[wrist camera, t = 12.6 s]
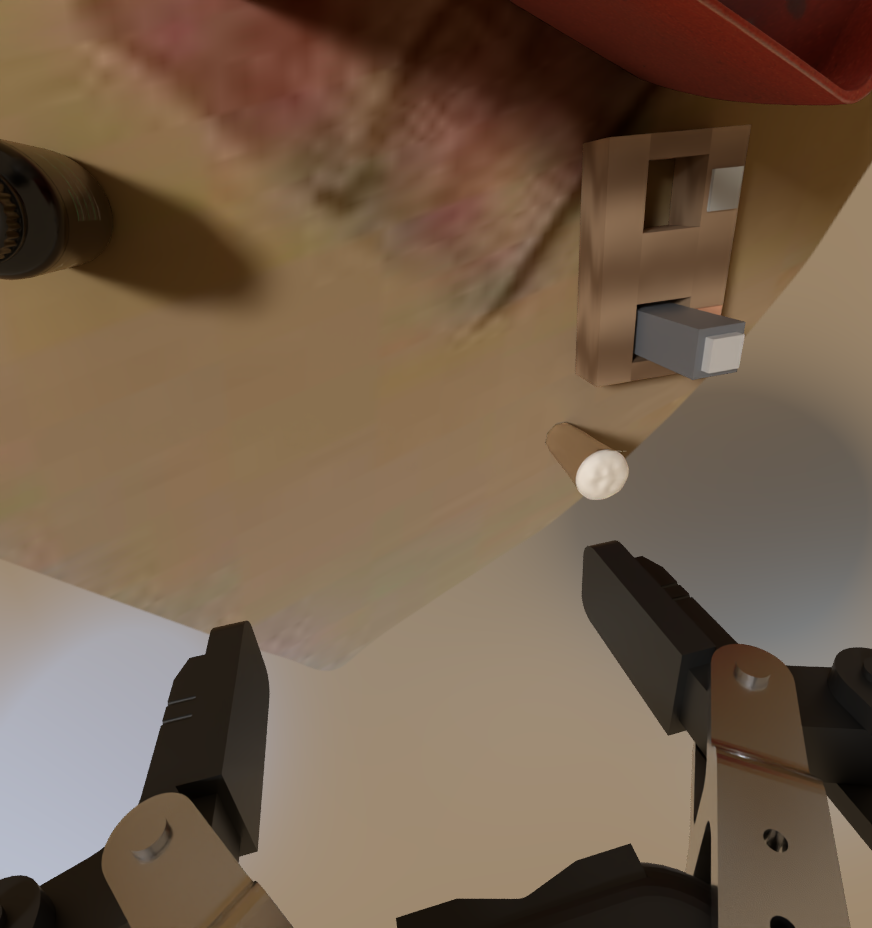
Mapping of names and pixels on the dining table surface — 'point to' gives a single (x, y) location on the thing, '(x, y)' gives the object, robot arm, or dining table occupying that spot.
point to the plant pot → (729, 45)
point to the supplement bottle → (48, 212)
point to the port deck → (652, 240)
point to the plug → (688, 339)
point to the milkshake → (587, 461)
